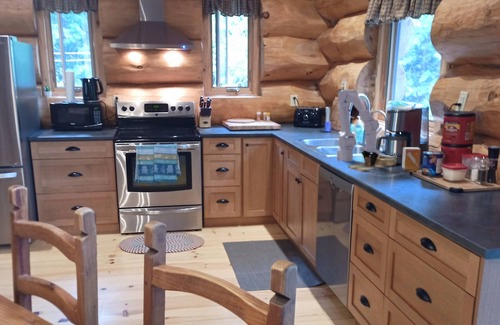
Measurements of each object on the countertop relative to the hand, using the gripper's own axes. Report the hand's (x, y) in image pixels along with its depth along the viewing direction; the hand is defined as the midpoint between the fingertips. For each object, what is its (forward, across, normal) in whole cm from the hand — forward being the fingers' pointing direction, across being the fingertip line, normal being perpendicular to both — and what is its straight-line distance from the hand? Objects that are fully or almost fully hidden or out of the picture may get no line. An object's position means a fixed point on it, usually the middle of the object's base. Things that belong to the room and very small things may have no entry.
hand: (369, 164), depth 257 cm
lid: (-3, 0, +15) cm, 15 cm away
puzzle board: (+2, 0, +2) cm, 3 cm away
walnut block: (+2, 0, 0) cm, 2 cm away
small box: (+2, +18, +14) cm, 22 cm away
